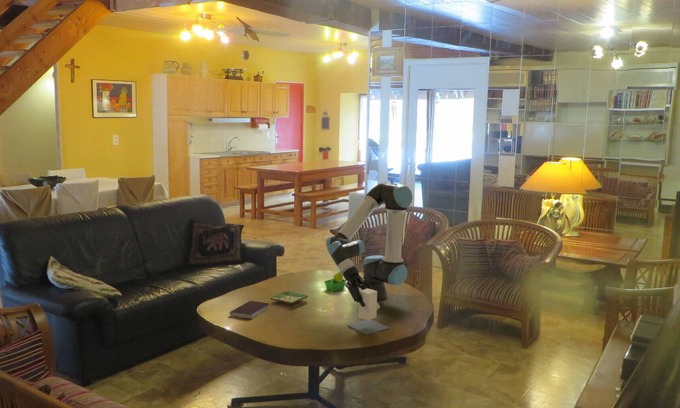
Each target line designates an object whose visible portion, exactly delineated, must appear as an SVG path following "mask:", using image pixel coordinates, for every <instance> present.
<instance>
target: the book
mask: <svg viewBox="0 0 680 408" xmlns="http://www.w3.org/2000/svg"><path fill="white" fill-rule="evenodd" d="M269 309H270V303H269V302H263V301H254V300H249V301H247V302H246V303H242V304H241V305H239V306H238V307H236V308H235V309H233V310H230V311H229V316H230V315H232V316H231V317H234V316H237V317H236V318H239V317H242V318H241V319H245V320H253V319H254V318H257V317H258V316H259V315H261V314H262V313H264V312H265V311H267V310H269Z"/></svg>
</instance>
